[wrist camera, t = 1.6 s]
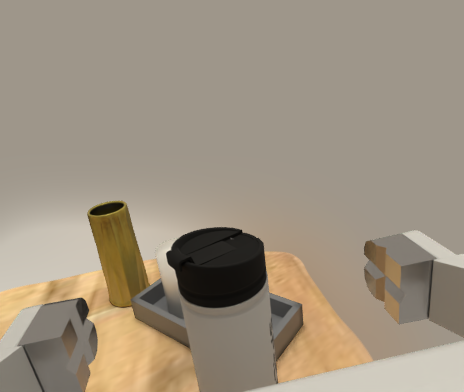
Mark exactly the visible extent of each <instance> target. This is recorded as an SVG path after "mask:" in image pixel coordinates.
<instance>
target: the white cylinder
mask: <svg viewBox="0 0 464 392" xmlns="http://www.w3.org/2000/svg"><path fill="white" fill-rule="evenodd" d="M177 239H178V238H174V239H171V240H168V241H165V242H163V243H162V244H160V245H159V246H158V247H157V248H156V250H155V254H156V259H157V263H158V267H159V272H160V276H161V280H162V285H163V289H164V293H165V298H166V302H167V306H168V311H169V313H170V314H172V315H174V316H176V317H178V318H184V315H183V311H182V306H181V301H180V296H179V292H178V283H177V278H176V274H175V270H174V269H173V268H172V267H171V266H169V265H168V262H167V257H166V253H167V251H170V250H171V247H172V245H173V243H174V242H175V241H176V240H177Z"/></svg>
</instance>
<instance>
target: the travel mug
mask: <svg viewBox="0 0 464 392" xmlns="http://www.w3.org/2000/svg"><path fill="white" fill-rule="evenodd" d="M166 257H167V262H168V265H169V266H171V267H172V268H173V269H174V270H175V274H176V278H177V283H178V292H179V296H180V301H181V306H182V311H183V315H184V320H185V325H186V329H187V334H188V339H189V343H190V348H191V353H192V357H193V362H194V367H195V372H196V376H197V381H198V386H199V390H200V392H244V391H248V390H253V389H257V388H261V387H265V386H270V385H274V384H278V378H277V368H276V358H275V348H274V337H273V327H272V317H271V307H270V296H269V286H268V276H267V271H266V265H265V254H264V245H263V242H262V241H261V240H260V239H259V238H256V237H255V236H253V235H250V234H247V233H242V230H240V229H235V228H227V227H217V228H216V227H215V228H206V229H201V230H196V231H193V232H190V233H187V234H185V235H183V236H181V237H180V238H178V239H177V240H176V241H175V242H174V243H173V245H172V247H171V250H170V251H167V253H166Z"/></svg>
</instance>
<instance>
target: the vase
mask: <svg viewBox="0 0 464 392" xmlns="http://www.w3.org/2000/svg"><path fill="white" fill-rule="evenodd" d="M87 215H88V219H89V222H90V226H91V229H92V233H93V236H94V240H95V243H96V246H97V250H98V254H99V258H100V261H101V266H102V269H103V273H104V276H105V279H106V283H107V287H108V291H109V299H110V302H111V303H112V304H113V305H115V306H118V307H126V306H131V305H132V304H131V300H130V299H132V298H133V297H135V296H136V295H138V294H139V293H140V292H142V291H143V290H145V289H146V288H148V287H149V286H150V284H149V282H148V278H147V274H146V270H145V267H144V263H143V260H142V257H141V254H140V250H139V247H138V244H137V241H136V237H135V233H134V230H133V226H132V222H131V218H130V214H129V211H128V207H127V204H126V203H125V202H123V201H110V202H105V203H101V204H99V205H96V206H94V207H92V208H91V209H90V210H89V211H88V214H87Z"/></svg>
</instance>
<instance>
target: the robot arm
mask: <svg viewBox="0 0 464 392" xmlns="http://www.w3.org/2000/svg"><path fill="white" fill-rule="evenodd" d="M364 255H365V256H366V257H367V258H368V259H369V261H368V263H367V264H366V266H365V269H364V270H365V280H366V283H367V287H368V288H369V290H370V292H371V293H372V294H373V296H374V297H375V298H376V299H378V300H381V301H383V302H385V309H386V311H387V312H388V313H389V314H390V315H391V316H392V317H393V318H394V320H395V321H396V322H397V323H398V324H403V323H408V322H413V321H419V320H423V319H429V320H430V321H432V322H434V323H436V324H438V325H440V326H442V327H444V328H446V329H448V330H450V331H452V332H454V333H456V334H458V335H460V336H462V337H464V254H460V255H456V254H454V253H453V252H451V251H449V250H448V249H446V248H445V247H443V246H442V245H440V244H439V243H437V242H435V241H434V240H432V239H431V238H429V237H428V236H426V235H424V234H423V233H421V232H419V231H414V230H413V231H409V232H406V233H401V234H397V235H393V236H388V237H384V238H379V239H375V240H370V241H367V242H366V243H365V247H364ZM88 312H89V309H88V306H87V303H86V301H85V300H84V299H83V298H76V299H71V300H65V301H60V302H54V303H48V304H44V305H43V304H42V305H37V306H32V307H28V308H25V309H22V310H21V311H20V313H19V314H18V316H17V317H16V318H15V320H14V321H13V323H12V324H11V326H10V327H9V329H8V330H7V332H6V333H5V334H4V336H3V337H2V339H1V340H0V392H85V389H86V386H87V383H88V379H89V376H90V370H89V367H88V365H89V364H90V363H91V362H92V361H93V360H94V359H95V356H96V352H97V340H98V339H97V333H96V329H95V326H94V323H92V322H91V321H89V320H88V319H86V317H87V315H88ZM244 392H464V340H463V341H459V342H455V343H450V344H447V345H442V346H438V347H434V348H429V349H425V350H420V351H416V352H412V353H407V354H403V355H399V356H395V357H390V358H386V359H382V360H377V361H373V362H369V363H364V364H360V365H356V366H351V367H347V368H343V369H338V370H334V371H330V372H326V373H321V374H317V375H313V376H308V377H304V378H300V379H296V380H291V381H287V382H283V383H278V384H274V385H270V386H265V387H261V388H257V389H253V390H248V391H244Z"/></svg>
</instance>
